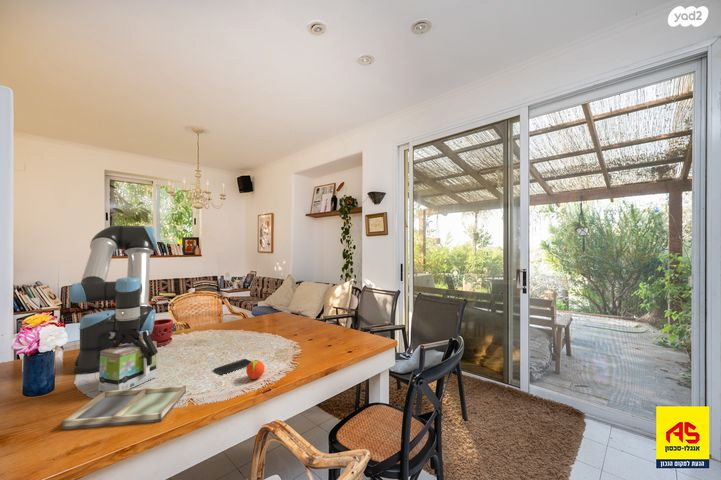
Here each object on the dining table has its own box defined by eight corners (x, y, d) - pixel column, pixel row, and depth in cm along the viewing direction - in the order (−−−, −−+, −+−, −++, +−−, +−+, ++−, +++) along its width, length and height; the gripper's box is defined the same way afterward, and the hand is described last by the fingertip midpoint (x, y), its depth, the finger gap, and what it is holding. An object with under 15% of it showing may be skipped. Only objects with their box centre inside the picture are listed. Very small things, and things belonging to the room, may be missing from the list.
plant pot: (157, 339, 172) (157, 318, 173) (178, 341, 171) (178, 319, 171) (137, 347, 160) (137, 324, 160) (160, 349, 158) (160, 325, 158)
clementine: (262, 382, 120) (262, 364, 120) (244, 384, 119) (244, 365, 119) (265, 374, 128) (265, 356, 128) (248, 375, 127) (248, 357, 127)
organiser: (61, 429, 90) (61, 421, 90) (104, 397, 108) (104, 391, 108) (161, 421, 94) (161, 413, 94) (185, 392, 113) (185, 385, 113)
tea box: (119, 395, 110) (119, 353, 110) (98, 391, 113) (98, 350, 113) (157, 377, 125) (157, 340, 125) (138, 374, 127) (138, 338, 127)
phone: (212, 369, 131) (244, 358, 143) (212, 371, 131) (244, 360, 143) (222, 373, 126) (254, 362, 138) (222, 376, 126) (254, 365, 138)
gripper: (84, 322, 113) (84, 381, 113) (158, 319, 117) (158, 377, 116) (98, 317, 120) (98, 373, 120) (167, 315, 124) (167, 369, 124)
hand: (127, 375), depth 118 cm, fingers closed on tea box, 12 cm apart
